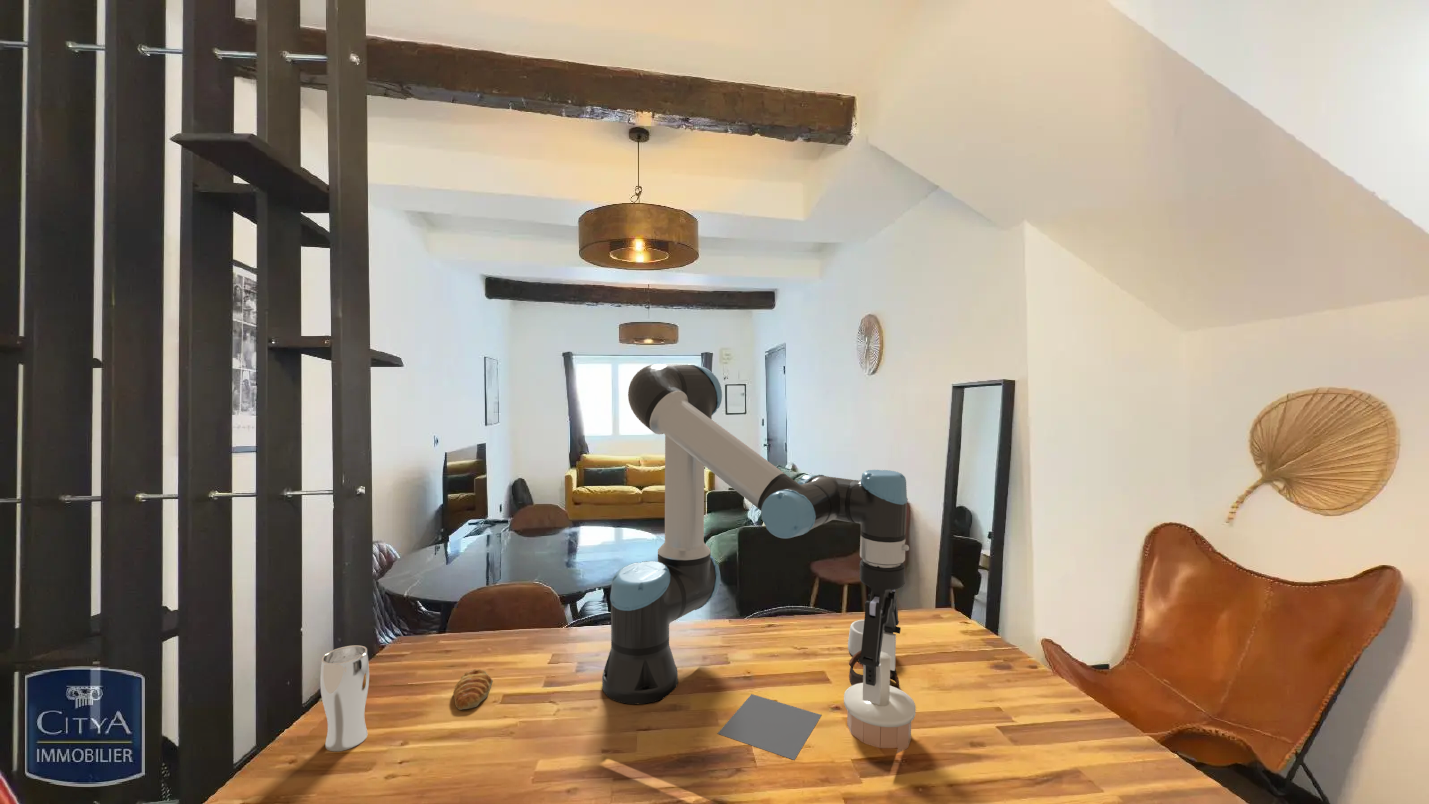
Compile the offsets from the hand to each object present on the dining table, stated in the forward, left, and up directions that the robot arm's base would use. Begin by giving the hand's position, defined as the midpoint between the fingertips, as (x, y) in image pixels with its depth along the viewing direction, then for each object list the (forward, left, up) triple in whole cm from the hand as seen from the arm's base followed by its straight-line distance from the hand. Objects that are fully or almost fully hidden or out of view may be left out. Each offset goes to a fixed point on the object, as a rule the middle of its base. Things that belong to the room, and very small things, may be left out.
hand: (879, 683), depth 100 cm
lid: (0, 0, -4) cm, 4 cm away
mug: (-8, +28, -9) cm, 31 cm away
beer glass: (-79, -46, -9) cm, 92 cm away
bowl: (0, 0, -9) cm, 9 cm away
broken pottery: (-5, +16, -9) cm, 19 cm away
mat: (-17, -8, -9) cm, 21 cm away
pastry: (-72, -26, -9) cm, 77 cm away
